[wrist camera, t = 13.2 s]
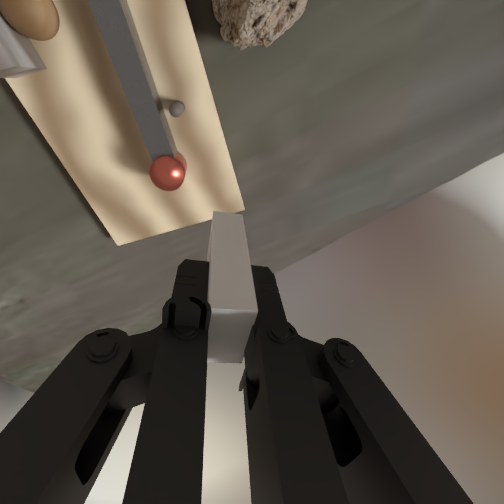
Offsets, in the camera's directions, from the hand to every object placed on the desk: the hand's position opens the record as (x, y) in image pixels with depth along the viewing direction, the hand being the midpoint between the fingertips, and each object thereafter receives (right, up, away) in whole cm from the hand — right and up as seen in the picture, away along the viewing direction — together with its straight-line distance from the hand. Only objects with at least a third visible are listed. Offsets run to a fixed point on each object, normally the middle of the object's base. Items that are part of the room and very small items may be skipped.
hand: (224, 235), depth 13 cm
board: (-13, +16, +16) cm, 25 cm away
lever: (-10, +15, +13) cm, 23 cm away
